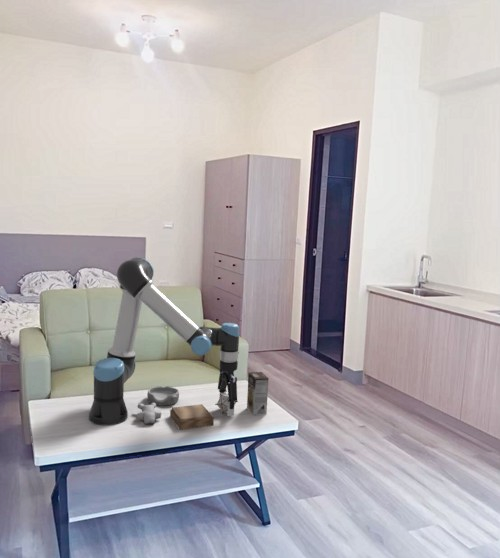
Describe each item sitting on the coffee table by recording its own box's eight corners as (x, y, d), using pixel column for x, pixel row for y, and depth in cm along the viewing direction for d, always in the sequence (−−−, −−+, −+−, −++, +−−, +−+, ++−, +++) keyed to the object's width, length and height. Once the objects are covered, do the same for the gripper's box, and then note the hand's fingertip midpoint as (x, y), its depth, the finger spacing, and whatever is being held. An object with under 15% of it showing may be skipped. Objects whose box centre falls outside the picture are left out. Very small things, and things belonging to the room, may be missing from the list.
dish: (180, 406, 235) (180, 395, 235) (148, 407, 232) (148, 396, 231) (177, 394, 249) (177, 384, 249) (146, 396, 246) (146, 385, 245)
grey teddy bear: (138, 417, 211) (135, 399, 225) (137, 428, 212) (135, 410, 226) (162, 415, 213) (158, 398, 227) (161, 427, 215) (157, 409, 229)
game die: (221, 420, 229) (207, 402, 228) (230, 408, 236) (217, 390, 234) (235, 416, 224) (221, 397, 222) (244, 403, 230) (231, 385, 229)
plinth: (179, 429, 210) (180, 419, 209) (170, 416, 223) (170, 407, 222) (213, 425, 216) (214, 415, 215) (202, 412, 228) (202, 403, 228)
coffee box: (246, 407, 236) (247, 372, 234) (260, 406, 238) (261, 371, 236) (252, 415, 228) (254, 378, 226) (267, 414, 230) (268, 377, 228)
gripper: (247, 366, 218) (244, 420, 221) (227, 352, 238) (225, 401, 241) (230, 368, 215) (227, 422, 218) (211, 353, 235) (209, 403, 238)
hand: (226, 411), depth 230 cm, fingers closed on game die, 9 cm apart
